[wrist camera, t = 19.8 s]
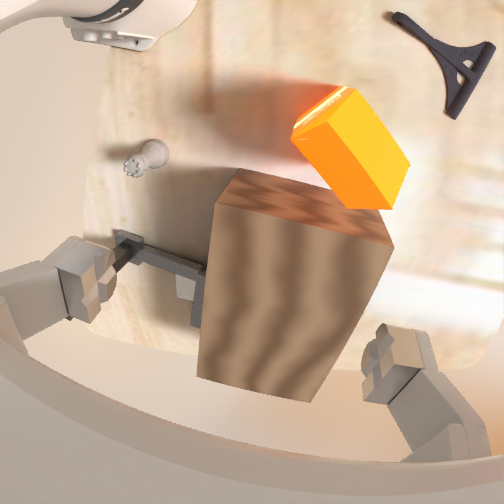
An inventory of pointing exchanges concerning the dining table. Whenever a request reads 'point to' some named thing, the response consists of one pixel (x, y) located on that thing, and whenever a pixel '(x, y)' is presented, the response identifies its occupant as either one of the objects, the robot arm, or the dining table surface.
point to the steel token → (185, 287)
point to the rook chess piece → (147, 158)
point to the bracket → (453, 63)
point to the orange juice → (352, 150)
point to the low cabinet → (285, 283)
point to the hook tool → (160, 266)
